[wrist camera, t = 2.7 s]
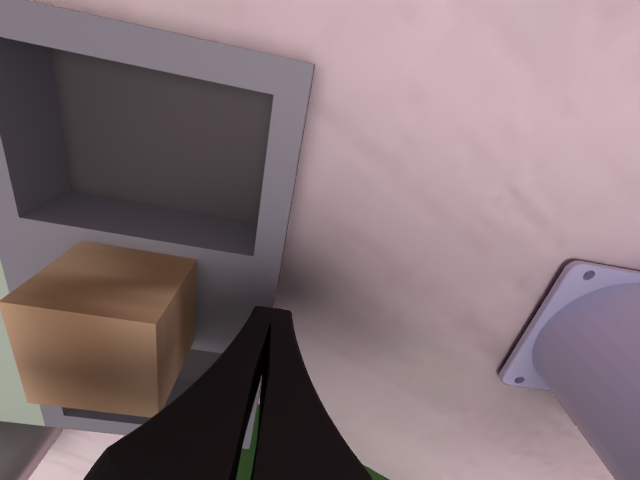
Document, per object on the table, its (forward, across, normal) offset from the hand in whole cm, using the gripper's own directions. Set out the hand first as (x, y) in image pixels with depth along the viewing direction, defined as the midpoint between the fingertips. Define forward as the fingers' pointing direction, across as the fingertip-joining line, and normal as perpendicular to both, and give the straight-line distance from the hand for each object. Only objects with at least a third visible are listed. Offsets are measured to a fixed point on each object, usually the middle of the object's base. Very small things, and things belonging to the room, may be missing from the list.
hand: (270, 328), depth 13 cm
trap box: (+4, +8, 0) cm, 9 cm away
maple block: (+1, +5, 0) cm, 5 cm away
